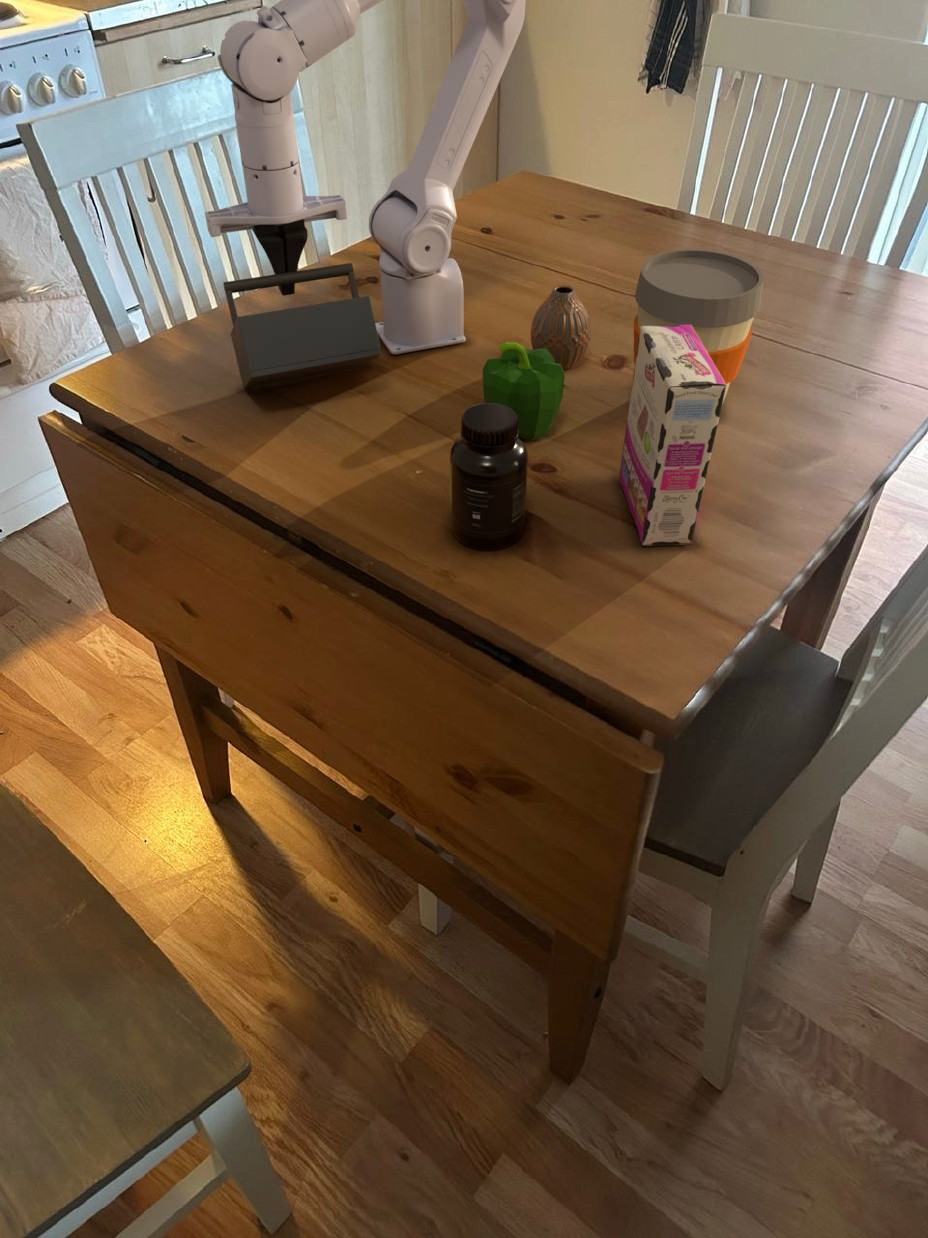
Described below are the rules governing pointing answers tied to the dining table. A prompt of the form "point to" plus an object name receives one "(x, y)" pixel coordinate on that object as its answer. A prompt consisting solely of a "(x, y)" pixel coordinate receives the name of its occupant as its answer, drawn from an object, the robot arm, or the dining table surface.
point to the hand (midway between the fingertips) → (286, 291)
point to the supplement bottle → (488, 478)
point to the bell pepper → (525, 387)
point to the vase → (562, 327)
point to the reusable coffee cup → (702, 301)
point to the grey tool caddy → (302, 331)
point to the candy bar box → (669, 433)
